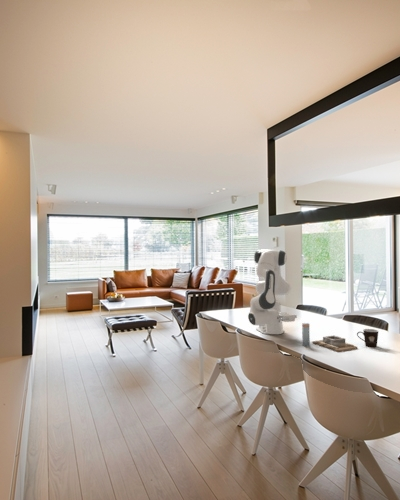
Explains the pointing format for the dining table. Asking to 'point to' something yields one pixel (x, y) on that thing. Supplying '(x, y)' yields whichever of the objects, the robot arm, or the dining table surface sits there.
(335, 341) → the assembly jig
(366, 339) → the coffee mug
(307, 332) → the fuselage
